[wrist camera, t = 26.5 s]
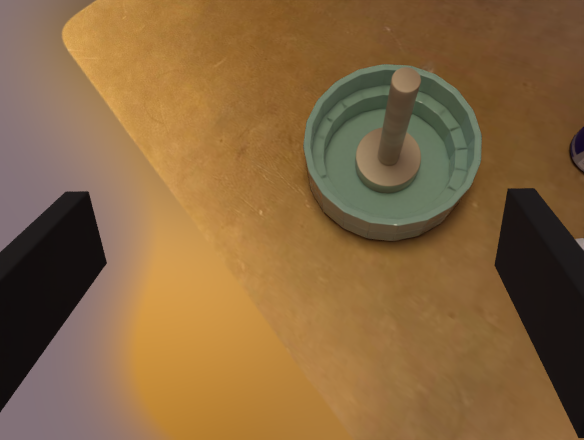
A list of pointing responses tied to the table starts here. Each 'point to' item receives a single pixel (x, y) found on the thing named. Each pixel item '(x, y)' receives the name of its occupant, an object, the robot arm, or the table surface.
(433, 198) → the bowl
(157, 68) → the table surface
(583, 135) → the energy drink
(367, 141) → the stick
